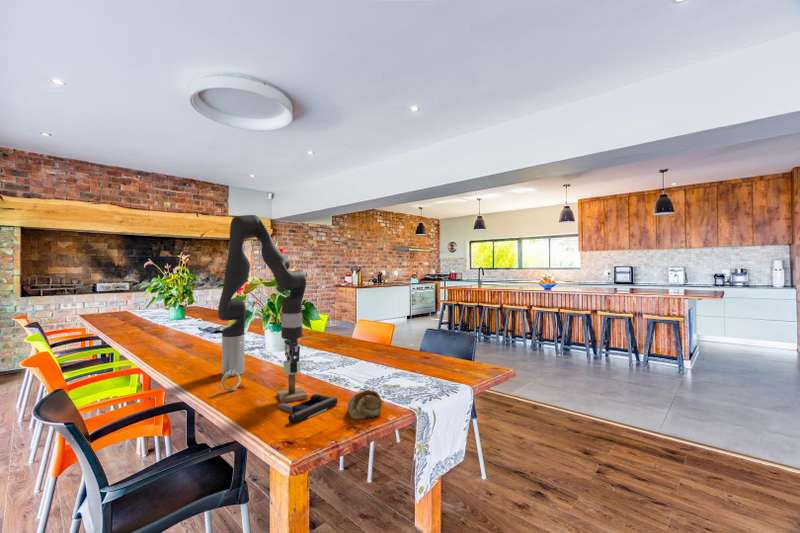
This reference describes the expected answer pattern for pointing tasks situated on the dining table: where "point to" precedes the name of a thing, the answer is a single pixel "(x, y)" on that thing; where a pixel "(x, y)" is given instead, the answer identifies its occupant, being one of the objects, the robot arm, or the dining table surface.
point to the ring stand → (291, 392)
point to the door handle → (308, 407)
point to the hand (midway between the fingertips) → (291, 370)
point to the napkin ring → (287, 367)
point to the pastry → (364, 404)
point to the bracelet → (227, 377)
